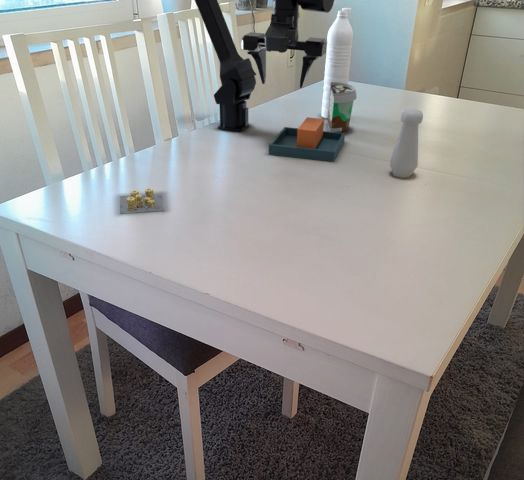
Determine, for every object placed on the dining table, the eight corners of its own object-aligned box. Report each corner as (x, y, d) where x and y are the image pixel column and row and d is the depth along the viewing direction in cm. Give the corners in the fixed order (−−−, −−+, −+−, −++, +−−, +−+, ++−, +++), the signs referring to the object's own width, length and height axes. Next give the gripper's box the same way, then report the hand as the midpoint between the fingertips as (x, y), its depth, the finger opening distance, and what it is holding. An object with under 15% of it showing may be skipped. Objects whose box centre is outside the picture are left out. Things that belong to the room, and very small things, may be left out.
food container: (355, 137, 135) (360, 94, 129) (330, 136, 135) (334, 93, 129) (350, 122, 145) (354, 82, 139) (327, 122, 145) (330, 81, 139)
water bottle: (341, 121, 146) (352, 12, 130) (318, 118, 148) (326, 11, 132) (349, 112, 152) (360, 8, 137) (326, 110, 154) (335, 7, 138)
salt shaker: (418, 172, 117) (430, 108, 109) (412, 181, 113) (425, 115, 105) (391, 167, 119) (402, 104, 111) (385, 176, 115) (395, 111, 107)
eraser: (296, 151, 125) (297, 129, 122) (305, 138, 132) (307, 117, 129) (313, 153, 124) (315, 131, 121) (322, 140, 131) (324, 118, 128)
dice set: (128, 210, 100) (126, 200, 99) (127, 199, 104) (126, 189, 103) (155, 208, 101) (154, 198, 100) (154, 197, 105) (153, 188, 103)
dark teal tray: (268, 154, 125) (268, 144, 123) (284, 136, 135) (284, 126, 134) (333, 161, 121) (334, 151, 120) (344, 142, 132) (345, 133, 131)
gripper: (233, 9, 114) (233, 89, 124) (319, 16, 110) (313, 98, 120) (249, 3, 122) (248, 78, 132) (330, 9, 118) (323, 86, 128)
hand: (282, 85), depth 128 cm, fingers open, 9 cm apart
